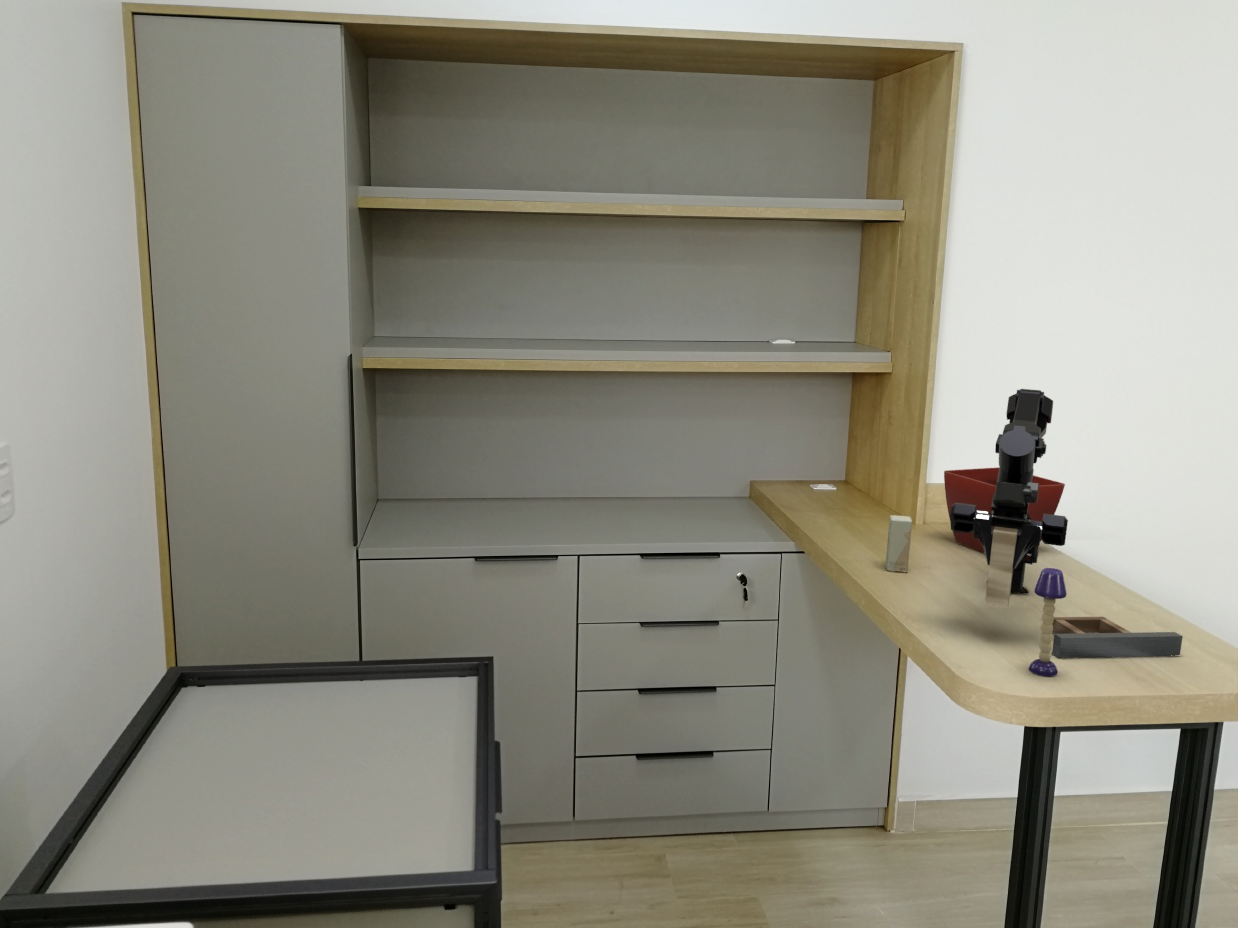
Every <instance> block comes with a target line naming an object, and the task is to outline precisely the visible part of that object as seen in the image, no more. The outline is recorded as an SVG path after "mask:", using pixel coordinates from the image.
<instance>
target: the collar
mask: <svg viewBox="0 0 1238 928" xmlns="http://www.w3.org/2000/svg"><path fill="white" fill-rule="evenodd" d="M1052 625H1053V631H1052V633H1051V634H1077V633H1132V632H1131V631H1130V630H1128V629H1126V628H1124V627H1122V626H1120V625H1119V624H1117V623H1116V622H1114V621H1111V620H1110V619H1108V618H1106V617H1104V616H1057V617H1056V616H1054V621H1053V623H1052Z"/></svg>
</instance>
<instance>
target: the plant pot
mask: <svg viewBox="0 0 1238 928" xmlns="http://www.w3.org/2000/svg"><path fill="white" fill-rule="evenodd" d="M998 473H999V467H984V468H982V467H981V468H969V469H968V468H967V469H966V468H965V469H950V470H944V471H943V479H944V493H945V499H946V500H945V501H946V507H947V511H948V517H949V522H950V523H951V519H950V513H951V508H952V505H954V504H955V503H963V504H971V505H976V511H984V512H989V513H991V514H992V510H991V505H992V499H993V495H994V493H995V489H996V483H997V479H998ZM1032 483H1039V491H1038V499H1037V503H1029V505H1028V514H1029V516H1030V518H1031V520H1034V521H1041V522H1042V520H1043V514H1051V515H1056V514H1055V513H1056V511H1057V508H1058V506H1059V504H1060V501H1061V499H1062V496H1063V493H1064V490H1065V486H1066V484H1065V483H1063V482H1060V481H1056V480H1052V479H1048V478H1044V477H1040V476H1037V475H1034V474H1033V478H1032ZM991 528H992V529H994V528H995V527H991ZM952 533H953V538H954V540H955V542H956V543H957V544H960V545H962V546H965V547H968V548H970V549H973V550H975V551H979V552H981V553H984V554H985V552H984V549H983V546H982V544H981V542H980V540H979V539H978V538H974V537H973V532H971V533H969V534H968V533H961V532H954V531H952ZM1041 542H1042V540H1041V536H1040V543H1041Z"/></svg>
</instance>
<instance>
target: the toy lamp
mask: <svg viewBox="0 0 1238 928" xmlns="http://www.w3.org/2000/svg"><path fill="white" fill-rule="evenodd" d="M1065 582H1066V581H1065V577H1064V574H1063V571H1062V570H1061V569H1058V568H1055V567H1054V568H1053V567H1045V568H1043V569H1042V570H1041V571H1040V574H1039V577H1038V580H1037V582H1036V584H1035V587H1034V591H1033V593H1034V594H1035V595H1036V596H1038V597H1040V598H1043V603H1044V604H1043V605H1042V606H1043V607H1042V612H1043V614H1042V617H1041V621H1042V623H1041V626H1040V629H1041V633H1040V643H1039V651H1040V652H1039V654H1038V657H1039V658H1037V659H1034V660H1033V661H1031V662H1030V665H1029V666H1028V671H1029V672H1031V673H1032V674H1035V675H1038V676H1041V677H1055V676H1057V675H1058V672H1059V671H1058V668H1057V666H1056V664H1055V662H1052V661H1051V657H1052V653H1051V652H1052V642H1053V641H1052V640H1053V633H1052V631H1053V625H1052V623H1053V621H1054V617H1055V616H1054V614H1055V610H1056V608H1055V604H1056V601H1057V600H1062V599H1064V598H1066V597H1067V589H1066V583H1065Z"/></svg>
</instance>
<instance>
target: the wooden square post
mask: <svg viewBox="0 0 1238 928" xmlns="http://www.w3.org/2000/svg"><path fill="white" fill-rule="evenodd" d="M1017 531H1018V529H1011V528H1004V527H996V526H995V528H994V531H993V539H992V548H991V557H990V565H988V574H987V576H988V577H987V580H988V583H987V582H986V584H987V585H986V592H985V593H986V594H985V595H986V596H985V603H984V606H990V607H997V608H1000V609H1008V608H1009V605H1010V599H1011V598H1010V597H1011V593H1010V591H1011V582H1012V574H1013V569H1012V567H1013V559H1014V555H1015V548H1016V540H1017Z"/></svg>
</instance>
